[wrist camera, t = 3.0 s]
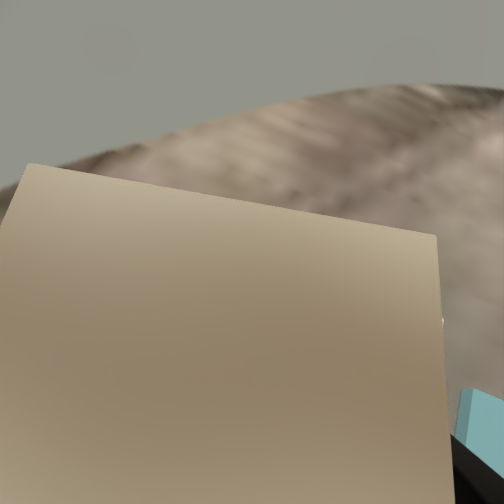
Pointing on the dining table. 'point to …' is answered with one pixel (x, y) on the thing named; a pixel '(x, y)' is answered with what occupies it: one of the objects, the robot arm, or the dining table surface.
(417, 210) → the dining table surface
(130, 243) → the birch block
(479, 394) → the teal board
